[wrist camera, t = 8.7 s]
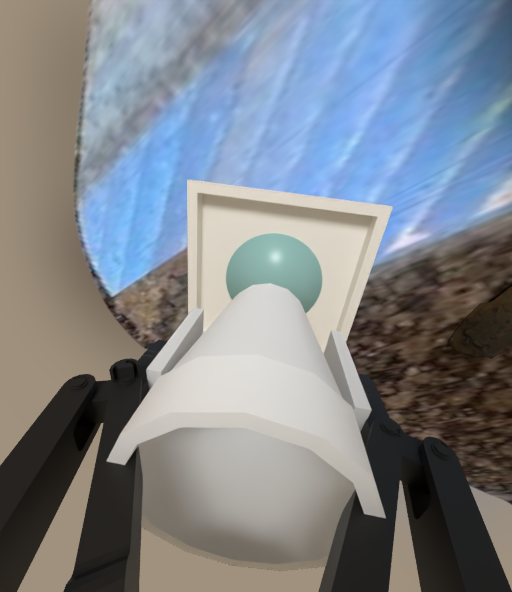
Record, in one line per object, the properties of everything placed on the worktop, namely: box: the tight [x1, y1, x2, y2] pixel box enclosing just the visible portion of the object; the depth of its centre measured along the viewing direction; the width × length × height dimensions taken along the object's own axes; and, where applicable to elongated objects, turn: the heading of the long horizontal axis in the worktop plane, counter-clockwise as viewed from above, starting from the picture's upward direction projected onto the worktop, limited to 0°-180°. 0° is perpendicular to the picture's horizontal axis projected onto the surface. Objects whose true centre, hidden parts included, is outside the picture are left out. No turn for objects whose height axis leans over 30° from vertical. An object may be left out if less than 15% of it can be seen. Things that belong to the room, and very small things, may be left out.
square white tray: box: [187, 180, 393, 354], centre depth 27 cm, size 19×19×2 cm
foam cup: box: [107, 283, 386, 571], centre depth 14 cm, size 10×9×13 cm
